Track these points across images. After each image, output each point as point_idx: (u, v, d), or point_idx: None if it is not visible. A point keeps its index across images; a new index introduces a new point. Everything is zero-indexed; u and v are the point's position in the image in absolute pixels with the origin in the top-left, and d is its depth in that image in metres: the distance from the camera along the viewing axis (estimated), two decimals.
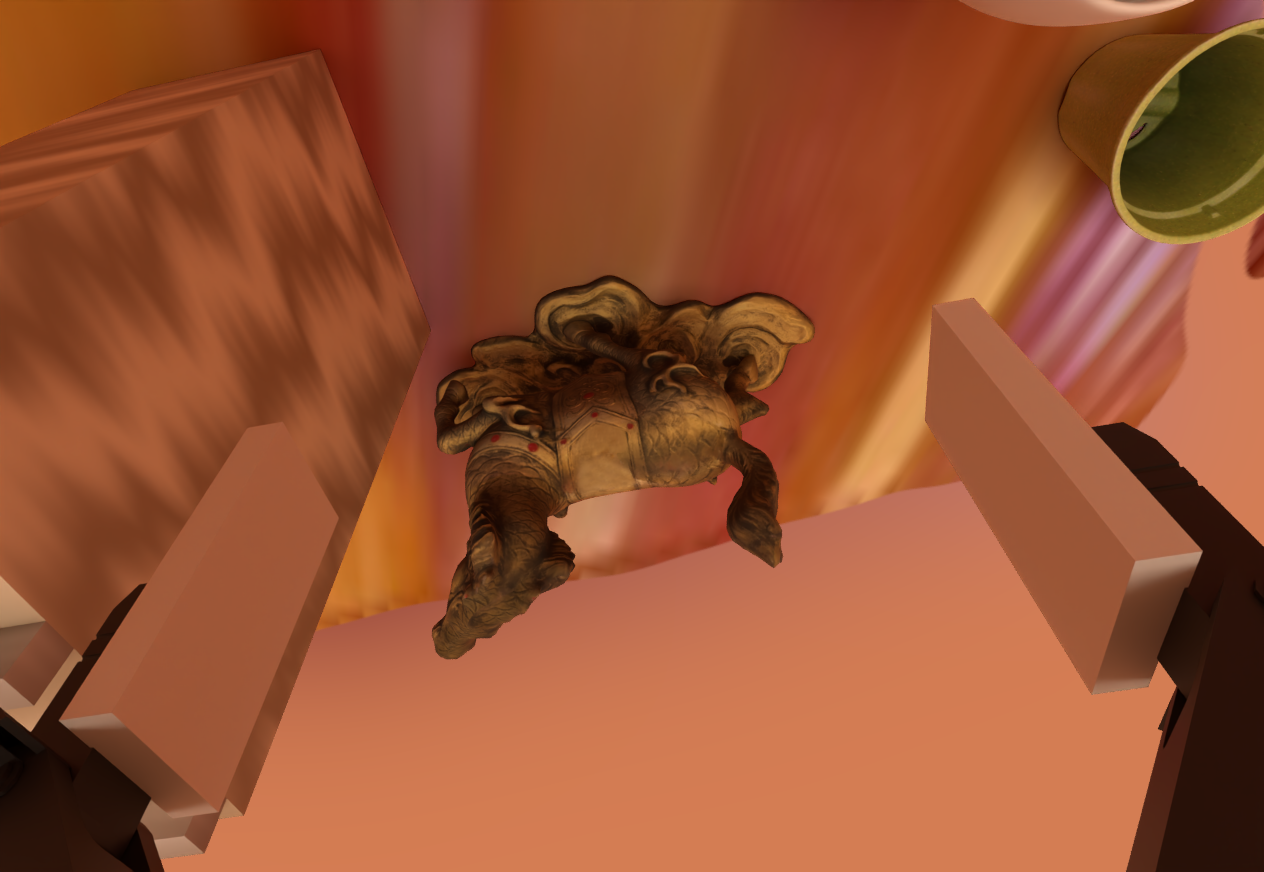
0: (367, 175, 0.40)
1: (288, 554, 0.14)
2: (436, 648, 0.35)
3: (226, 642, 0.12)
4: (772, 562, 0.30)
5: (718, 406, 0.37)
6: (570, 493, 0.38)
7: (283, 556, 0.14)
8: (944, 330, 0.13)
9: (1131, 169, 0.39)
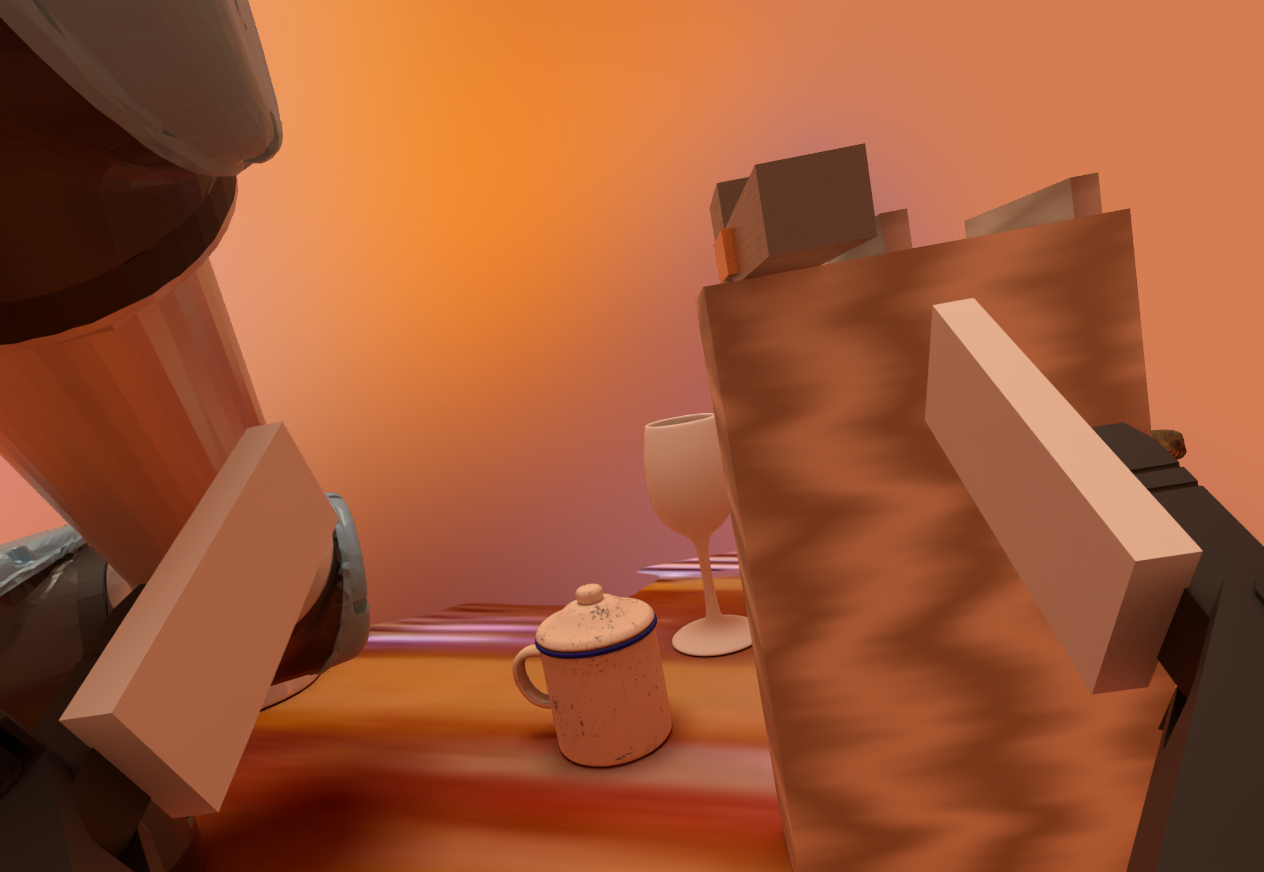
0: None
1: (288, 554, 0.14)
2: (1168, 437, 0.40)
3: (226, 642, 0.12)
4: None
5: None
6: None
7: (283, 556, 0.14)
8: (944, 330, 0.13)
9: None
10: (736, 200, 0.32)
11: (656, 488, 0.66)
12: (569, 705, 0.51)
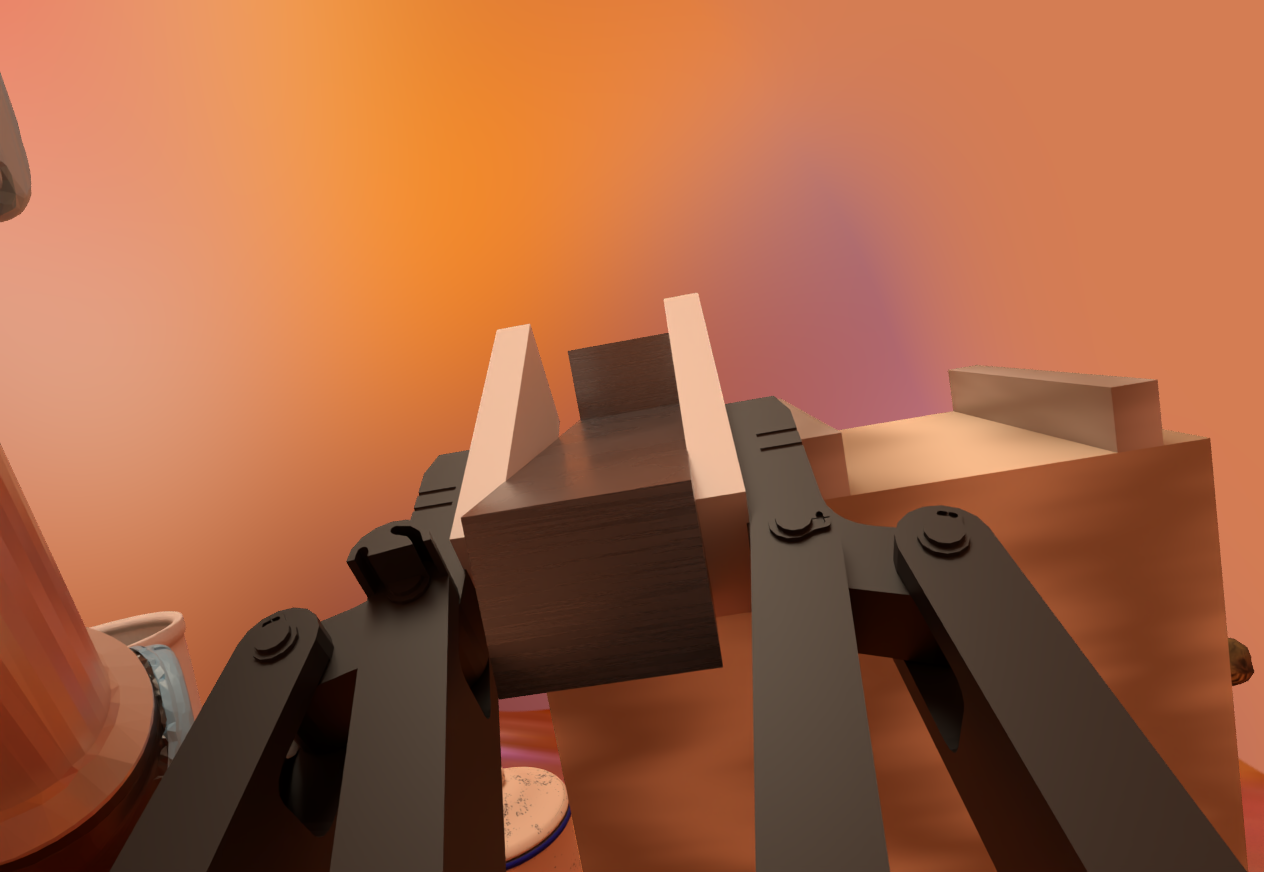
0: None
1: (544, 441, 0.16)
2: (1229, 653, 0.29)
3: None
4: None
5: None
6: None
7: (543, 440, 0.15)
8: None
9: None
10: (597, 376, 0.21)
11: None
12: None
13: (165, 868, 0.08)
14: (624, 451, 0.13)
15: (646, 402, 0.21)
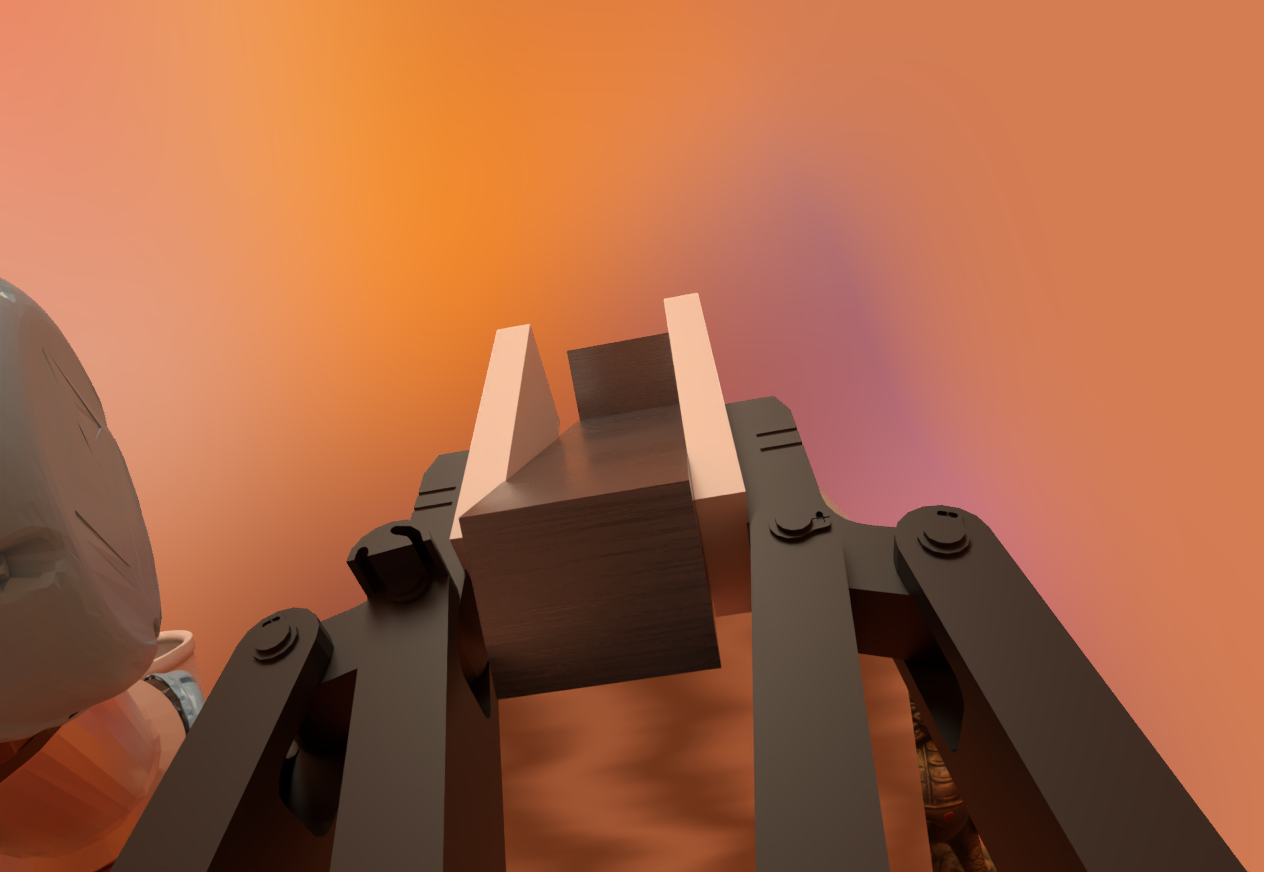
0: None
1: (544, 441, 0.16)
2: None
3: None
4: None
5: None
6: None
7: (542, 441, 0.15)
8: None
9: None
10: (597, 376, 0.21)
11: None
12: None
13: (165, 868, 0.08)
14: (623, 451, 0.13)
15: (645, 402, 0.21)
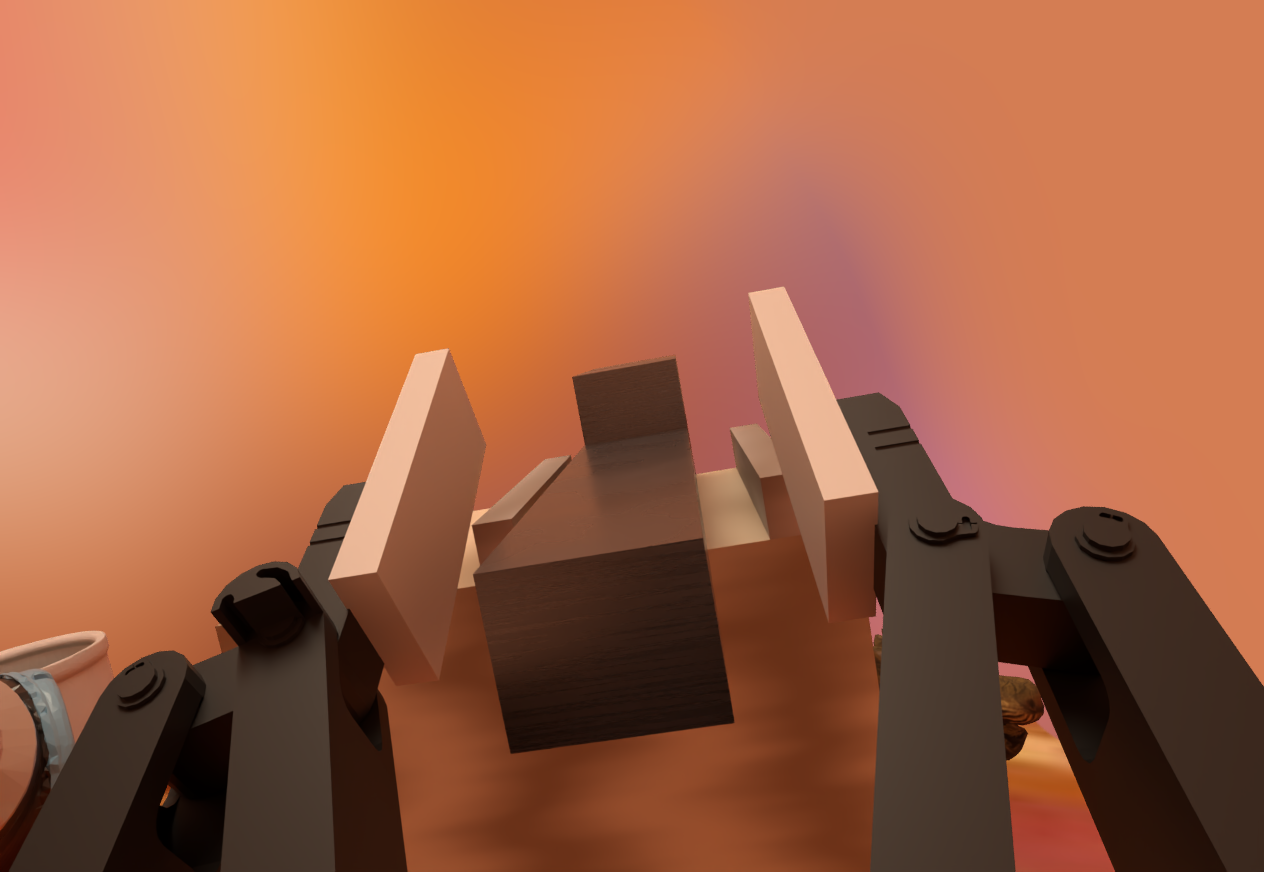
0: None
1: (460, 468, 0.15)
2: (1018, 694, 0.30)
3: (432, 533, 0.13)
4: None
5: None
6: None
7: (457, 468, 0.15)
8: (754, 314, 0.15)
9: None
10: (602, 402, 0.21)
11: None
12: None
13: None
14: (632, 493, 0.13)
15: (650, 428, 0.21)
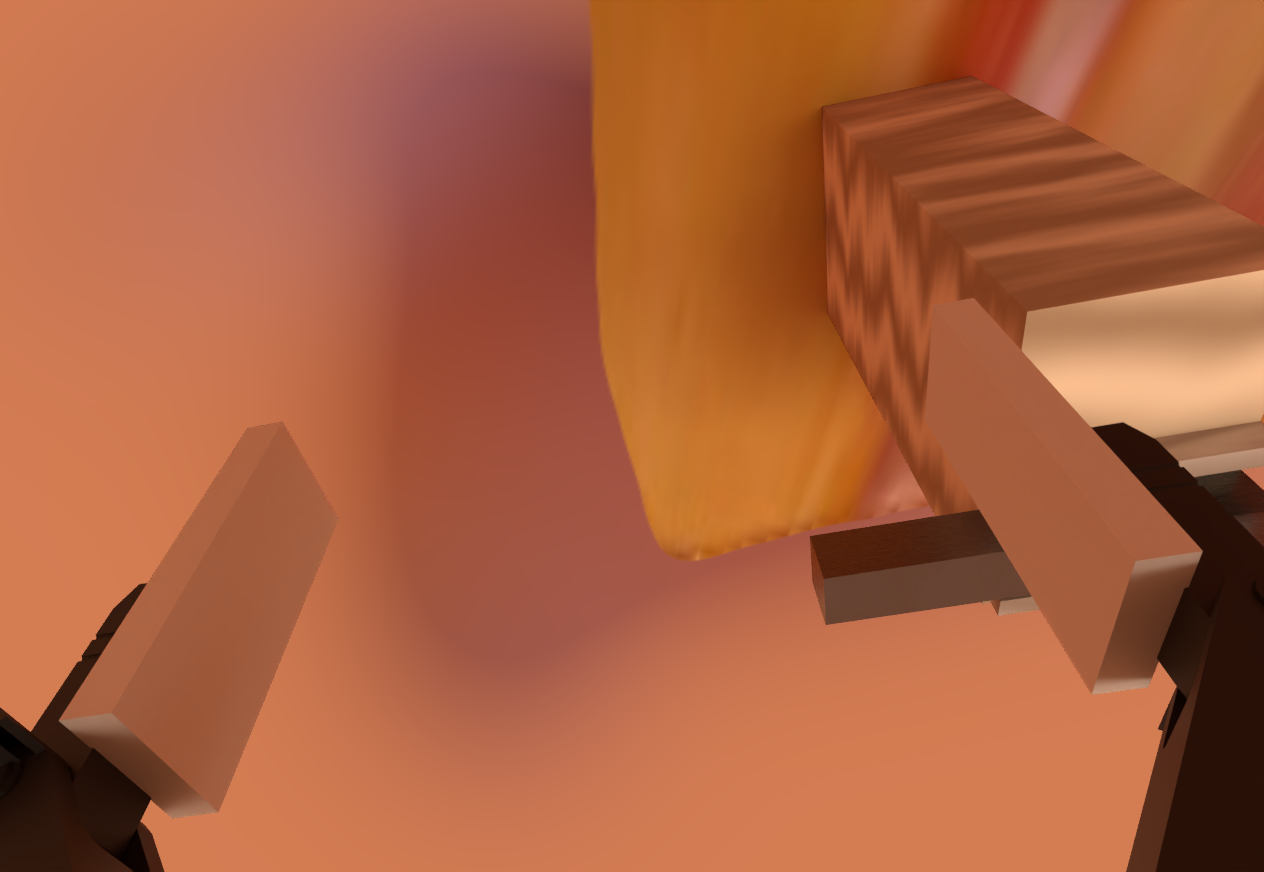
0: None
1: (288, 554, 0.14)
2: None
3: (226, 642, 0.12)
4: None
5: None
6: None
7: (284, 556, 0.14)
8: (944, 330, 0.13)
9: None
10: None
11: None
12: None
13: None
14: (910, 596, 0.31)
15: None
